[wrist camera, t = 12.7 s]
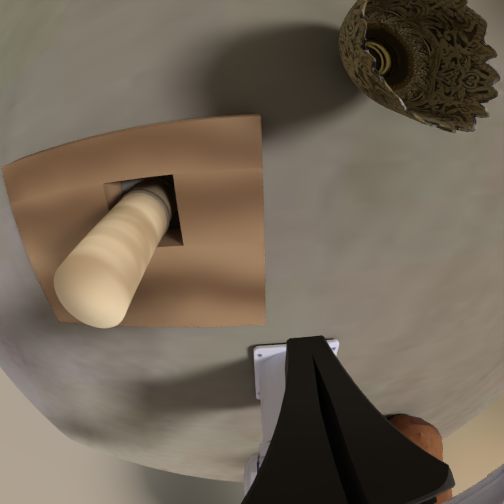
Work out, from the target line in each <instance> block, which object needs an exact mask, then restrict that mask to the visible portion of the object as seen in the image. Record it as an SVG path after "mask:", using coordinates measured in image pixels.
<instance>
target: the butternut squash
mask: <svg viewBox="0 0 504 504" xmlns="http://www.w3.org/2000/svg"><path fill="white" fill-rule="evenodd" d="M388 421H389V422H390V423H391V424H392V425H393V426H394V427H396V428H397V429H398V430H399V431H400V432H402V433H403V434H404V435H405V436H406V437H408V438H409V439H410V440H411V441H413V442H414V443H415V444H416V445H418V446H419V447H421V448H422V449H423V450H425V451H426V452H428V453H429V454H431V455H433V456H434V457H436V458H437V459H439V460H441V461H442V462H443V457H442V453H443V446H442V439H441V435H440V433H439V431H438V430H437V428H435V427H434V426H433V425H431V424H430V423H428V422H426V421H425V420H423V419H421V418H418V417H413V416H408V415H404V414H402V415H395V416H393V417H392V418H390V419H389V420H388ZM436 498H437V502H436V503H434V504H441V503H443V502H445V501H447V500H449V499H451V498H452V490H451V489H449V490H447V491H445V492H443V493H441V494H439V495H437V496H436Z"/></svg>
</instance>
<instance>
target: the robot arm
mask: <svg viewBox="0 0 504 504" xmlns="http://www.w3.org/2000/svg"><path fill="white" fill-rule="evenodd" d="M338 347H339V342H338V340H336V339H333V340H326V339H325V337H324V336H312V337H302V338H290V339H289V340H287V344H281V345H266V346H256V347H255V348H254V350H253V351H254V369H255V386H256V398H257V399H259V400H260V401H261V418H262V434H263V443H262V444H259V449H260V454H253V455H252V456H251V458H250V459H249V460H248V461H247V462H246V465H245V471H244V489H245V498H244V499H243V501H242V503H241V504H434V503H436V502H437V498H436V496H437V495H439V494H441V493H443V492H445V491H447V490H449V489H451V488H453V487H454V486H455V481H454V478H453V475H452V472H451V470H450V468H449V465H447V464H446V463H444V462H442V461H441V460H439V459H437V458H436V457H434V456H433V455H431V454H429V453H428V452H426V451H425V450H423V449H422V448H421V447H419V446H418V445H416V444H415V443H414V442H413V441H411V440H410V439H409V438H408V437H406V436H405V435H404V434H403V433H402V432H400V431H399V430H398V429H397V428H396V427H394V426H393V425H392V424H391V423H390V422H389V421H388V420H387V419H386V418H385V417H384V416H383V415H382V414H381V413H380V412H379V411H378V410H377V409H376V408H375V407H374V405H373V404H372V403H371V402H370V401H369V400H368V399H367V397H366V396H365V395H364V394H363V393H362V391H361V390H360V389H359V388H358V386H357V385H356V384H355V383H354V381H353V380H352V378H351V377H350V376H349V374H348V373H347V372H346V370H345V369H344V367H343V366H342V365H341V363H340V362H339V360H338V359H337V357H336V354H337V351H338ZM441 504H504V464H503V465H501V466H500V467H498V468H497V469H495V470H494V471H493V472H491V473H490V474H488V475H487V477H486V478H484V479H483V480H481V481H480V482H478V483H477V484H475V485H473V486H472V487H470V488H468V489H467V490H465V491H463V492H462V493H460V494H458V495H456V496H454V497H453V498H451V499H449V500H447V501H445V502H443V503H441Z"/></svg>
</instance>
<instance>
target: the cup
mask: <svg viewBox="0 0 504 504" xmlns="http://www.w3.org/2000/svg"><path fill="white" fill-rule="evenodd" d="M467 2H468V0H357V2H356V3H355V4H354V5H353V7H352V8H351V9H350V11H349V12H348V14H347V15H346V17H345V19H344V21H343V23H342V26H341V29H340V34H339V52H340V56H341V60H342V63H343V65H344V68H345V70H346V72H347V73H348V75H349V77H350V78H351V79H352V81H353V82H354V83H355V85H356V86H357V87H358V88H359V89H360V90H361V91H362V92H363V93H365V94H366V95H367V96H368V97H370V98H371V99H372V100H374V101H375V102H377V103H379V104H381V105H382V106H384V107H386V108H388V109H390V110H393V111H395V112H397V113H400V114H402V115H405V116H407V117H409V118H412V119H414V120H416V121H419V122H421V123H422V124H423V123H424V124H426V125H428V126H431V127H433V126H434V127H437V128H440V129H442V130H445V131H448V132H451V133H456V130H460V131H466V132H473V131H475V130H476V124H475V123H476V119H475V117H480V118H483V117H489V116H490V114H489V112H488V111H487V109H486V107H484V106H483V105H481V104H480V103H487V102H488V101H489V100H491V99H494V98H496V97H497V96H498V92H497V90H496V89H494V88H493V85H495V84H496V83H497V82H498V81H500V75H499V74H498V72H497V71H496V70H495V69H494V68H493V67H491V66H490V65H489V64H486V61H488V60H489V59H492V58H496V57H497V56H498V55H497V53H496V51H495V50H494V49H493V48H492V47H491V46H489V45H485V44H486V43H485V36H486V34H487V29H488V27H487V22H486V21H485V20H484V19H483V18H482V17H481V16H480V15H479V14H478V13H476V12H475V11H474V10H472V9H471V8H469V7H468V6H466V5H467ZM484 43H485V44H484ZM367 48H370V49H373V50H374V51H376V52H377V53H378V55H379V57H380V60H381V64H380V67H379V68H378V69H377V70H376V67H375V66H376V59H375V58H374V57H373V56H372V55H371V54H370V53H369V51H368V49H367ZM491 85H492V86H491Z"/></svg>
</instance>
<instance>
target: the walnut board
mask: <svg viewBox="0 0 504 504" xmlns="http://www.w3.org/2000/svg"><path fill="white" fill-rule="evenodd" d="M2 171H3V176H4V180H5V184H6V189H7V193H8V196H9V200H10V204H11V207H12V211H13V214H14V217H15V220H16V224H17V227H18V230H19V233H20V235H21V238H22V241H23V244H24V246H25V249H26V252H27V254H28V257H29V259H30V262H31V264H32V267H33V269H34V271H35V274H36V276H37V278H38V281H39V283H40V285H41V287H42V289H43V291H44V293H45V295H46V298H47V300H48V302H49V304H50V306H51V307H52V309H53V311H54V313H55V315H56V317H57V319H58V321H59V322H69V323H81V324H85V323H83V322H81V321H79V320H78V319H76V318H75V317H74V316H73V315H71V314H70V313H69V312H68V311H67V310H66V309H65V307H64V306H63V305H62V304H61V302H60V300H59V299H58V297H57V294H56V292H55V288H54V275H55V272H56V270H57V269H58V267H59V266H60V265H61V264H62V262H63V261H64V260H65V259H66V258H67V257H68V255H69V254H70V253H71V252H72V251H73V250H74V249H75V247H76V246H77V245H78V244H79V243H80V242H81V241H82V240H83V239H84V238H85V236H86V235H87V234H88V233H89V232H90V231H91V230H92V229H93V228H94V227H95V226H96V225H97V224H98V223H99V222H100V221H101V220H102V219H103V217H104V216H105V215H106V214H107V213H108V212H109V211H110V210H111V209H112V208H113V207H114V206H116V205H117V203H118V201H119V200H120V199H121V198H122V197H123V192H122V187H121V181H123V180H130V179H138V178H145V177H153V176H162V175H171V174H173V178H174V186H175V193H176V200H177V207H178V213H179V220H180V226H181V228H177V229H167V231H166V233H165V235H164V236H163V237H162V238H161V240H160V242H159V244H158V246H157V248H156V250H155V252H154V254H153V256H152V258H151V260H150V262H149V264H148V266H147V268H146V270H145V272H144V274H143V276H142V279H141V281H140V283H139V285H138V287H137V289H136V292H135V294H134V296H133V298H132V300H131V303H130V305H129V307H128V309H127V312H126V314H125V316H124V318H123V320H122V321H121V322H120V323H119V324H118V325H116V326H142V327H218V326H246V325H266V309H265V246H264V201H263V164H262V132H261V116H260V115H259V114H244V115H227V116H214V117H203V118H193V119H184V120H176V121H169V122H162V123H156V124H150V125H144V126H138V127H133V128H128V129H123V130H118V131H113V132H108V133H104V134H100V135H96V136H92V137H88V138H84V139H80V140H76V141H73V142H69V143H66V144H62V145H59V146H56V147H52V148H49V149H46V150H43V151H40V152H37V153H34V154H31V155H28V156H26V157H23V158H20V159H18V160H16V161H14V162H12V163H10V164H7V165H5V166H3V167H2Z"/></svg>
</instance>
